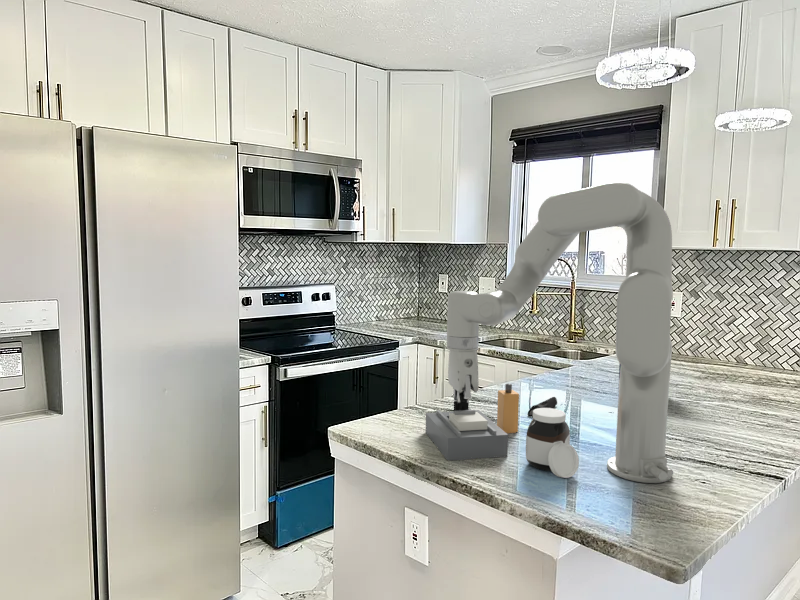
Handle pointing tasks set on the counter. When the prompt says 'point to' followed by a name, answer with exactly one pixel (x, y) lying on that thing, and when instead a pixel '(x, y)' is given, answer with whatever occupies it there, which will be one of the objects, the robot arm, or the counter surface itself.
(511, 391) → the plug
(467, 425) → the shutter
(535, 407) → the electric trimmer
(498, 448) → the socket
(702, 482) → the counter surface
